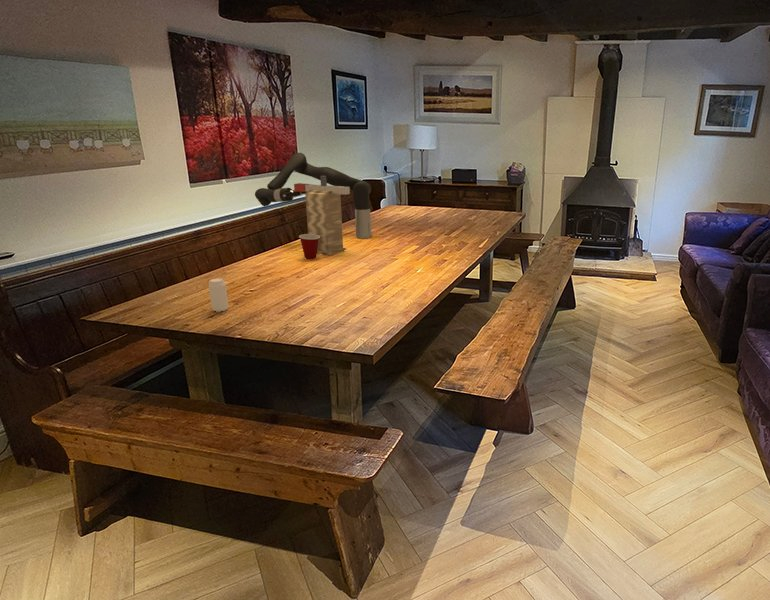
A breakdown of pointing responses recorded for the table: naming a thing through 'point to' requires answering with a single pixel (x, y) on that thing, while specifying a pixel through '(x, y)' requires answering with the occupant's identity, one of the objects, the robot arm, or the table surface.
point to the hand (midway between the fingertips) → (304, 192)
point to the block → (322, 187)
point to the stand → (325, 220)
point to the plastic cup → (309, 245)
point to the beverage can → (218, 295)
